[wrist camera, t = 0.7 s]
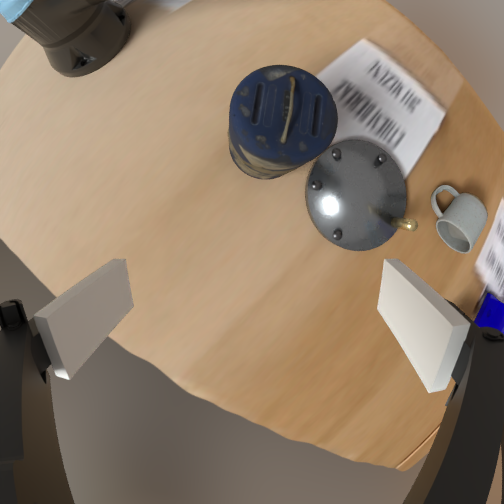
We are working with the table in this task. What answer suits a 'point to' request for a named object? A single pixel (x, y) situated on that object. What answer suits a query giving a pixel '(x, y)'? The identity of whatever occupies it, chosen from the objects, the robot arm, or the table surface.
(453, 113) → the table surface
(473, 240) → the ceramic mug
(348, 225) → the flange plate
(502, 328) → the mounting bracket
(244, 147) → the canister
